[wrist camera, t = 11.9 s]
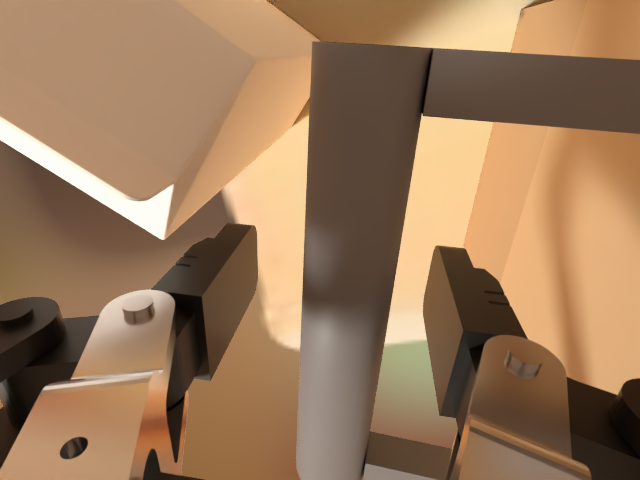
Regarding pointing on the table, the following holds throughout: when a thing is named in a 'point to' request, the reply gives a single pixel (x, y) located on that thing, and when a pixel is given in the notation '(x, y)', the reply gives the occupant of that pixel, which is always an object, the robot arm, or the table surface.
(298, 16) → the table surface
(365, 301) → the carton flap
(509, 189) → the carton
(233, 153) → the milk
